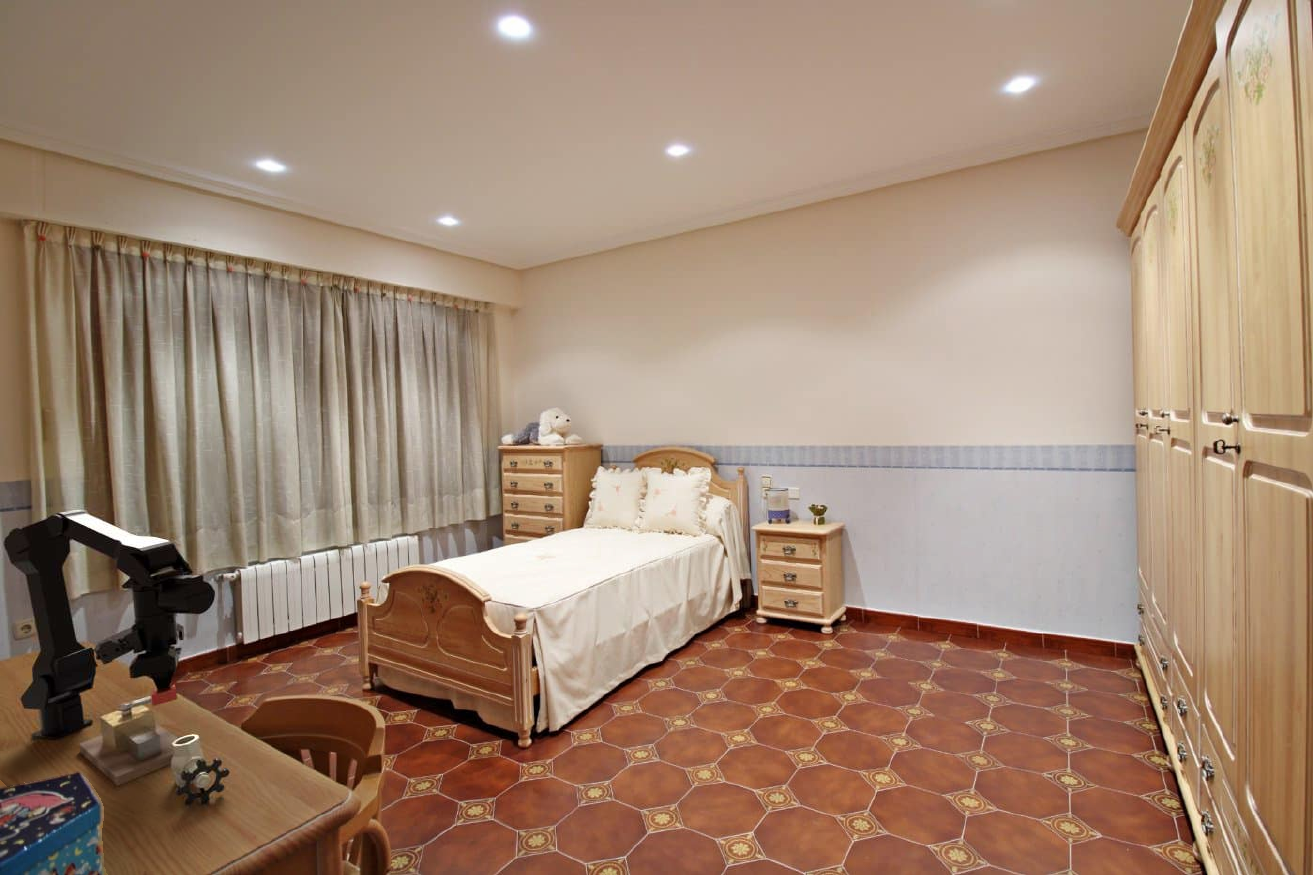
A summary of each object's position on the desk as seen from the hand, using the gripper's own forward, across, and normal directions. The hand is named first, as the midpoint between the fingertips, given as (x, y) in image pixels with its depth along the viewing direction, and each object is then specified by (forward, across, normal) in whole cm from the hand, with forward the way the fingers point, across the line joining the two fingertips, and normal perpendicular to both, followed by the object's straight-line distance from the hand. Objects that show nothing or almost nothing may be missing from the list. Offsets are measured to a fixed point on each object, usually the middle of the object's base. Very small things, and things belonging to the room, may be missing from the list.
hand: (163, 693), depth 115 cm
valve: (+7, +25, +6) cm, 27 cm away
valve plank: (+8, +5, -4) cm, 10 cm away
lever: (+1, +2, -2) cm, 3 cm away
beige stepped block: (+6, +5, -4) cm, 9 cm away
